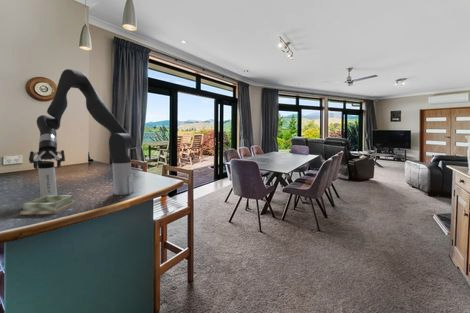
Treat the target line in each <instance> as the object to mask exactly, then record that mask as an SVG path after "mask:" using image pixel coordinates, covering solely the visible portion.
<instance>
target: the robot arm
mask: <svg viewBox="0 0 470 313" xmlns="http://www.w3.org/2000/svg"><path fill="white" fill-rule="evenodd" d="M72 88H73V89H78V90H79V91H80V92H81V93H82V95H83V96H84V98H85V107H86V110H87V111H88V113H89V114H90V115H91V117H92V118H93V119H94V120H95V121H96V122H97V124H100V125H101V126H102V127H103V128H105V129H106V130H108V131H109V133H110V134H111V135H110V136H109V139H108V148H109V157H110V158H111V161H112V162H111V163H112V181H113V195H116V196H124V195H125V196H126V195H130V194H132V193H133V192H135V191H134V188H135V186H134V175H133V174H132V159H131V158H132V157H131V156H129V155H127V150H129V149H131V148H132V147H133V144H134V142H133V141H134V140H133V137H132V136H131V134H129V133H128V131H127V130H125V128H124V127H123V126H122V125H121V124H120V123H119V121H118V119H117V118H116V117H115V115H114V114H113V113H112V112H111V110H110V109H109V107H108V106H107V104H106V102H104V101H103V99H102V98H101V97H100V95H99V94H98V92H97V91H96V89H95V87H94V86H93V84H92V82H91V81H90V80H89V78H88V76H87V75H86V74H85V73H84V72H82V71H79V70H76V69H71V68H70V69H69V68H66V69H64V70H63V71H62V73H61V74H60V78H59V79H58V83H57V87H56V90H55V94H54V96H53V99H52V101H51V102H50V105H49V106H48V108H47V110H46V113H47V114H48V115H49V116H48V115H46V114H45V115H39V116H38V117H37V118H36V126H37V128H38V130H39V141H38V151H36V152H34V151H32V150H31V151H30V153H29V156H28V161H29V164H33V169H35V170H36V171H37V170H39V169H38V163H37V161H53V160H54V161H55V162H56V168H57V169H59V168H61V166H62V164H61V163H62V162H63V163H64V162H65V161H66V157H65V156H66V155H65V150H60V151H58V140H57V131H58V130H59V129H60V128H61V123H62V122H61V120H62V116H63V115H64V113H65V111H66V110H67V107H68V97H67V96H68V92H69V91H70V89H72ZM58 155H59V156H61V157H59V156H58ZM35 157H36V158H35Z"/></svg>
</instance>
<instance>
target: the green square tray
mask: <svg viewBox="0 0 470 313" xmlns="http://www.w3.org/2000/svg"><path fill="white" fill-rule="evenodd" d="M74 199H75V198H74V195H73V194H67V195H66V194H61V195H60V194H59V195H58V194H57V195H52V196H43V197H41V196H40V197H39V198H35V199H33V200H30V201H27V202H24V203H22V208H23V210H20V212H19V213H20V215H23V216H24V215H53V214H54V215H56V214H58V213H60V212H62V211H64V210H66V209H68V208H70V207H72V206H75V205H76V204H77V200H74Z"/></svg>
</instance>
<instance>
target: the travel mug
mask: <svg viewBox="0 0 470 313" xmlns="http://www.w3.org/2000/svg"><path fill="white" fill-rule="evenodd" d="M37 163H38V169H37V170H38V171H37V172H38V181H39V190H40V191H39V192H40V197H43V196H52V195H58V189H57V176H56V169H55V162H54V161H53V160H42V161H37Z"/></svg>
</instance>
